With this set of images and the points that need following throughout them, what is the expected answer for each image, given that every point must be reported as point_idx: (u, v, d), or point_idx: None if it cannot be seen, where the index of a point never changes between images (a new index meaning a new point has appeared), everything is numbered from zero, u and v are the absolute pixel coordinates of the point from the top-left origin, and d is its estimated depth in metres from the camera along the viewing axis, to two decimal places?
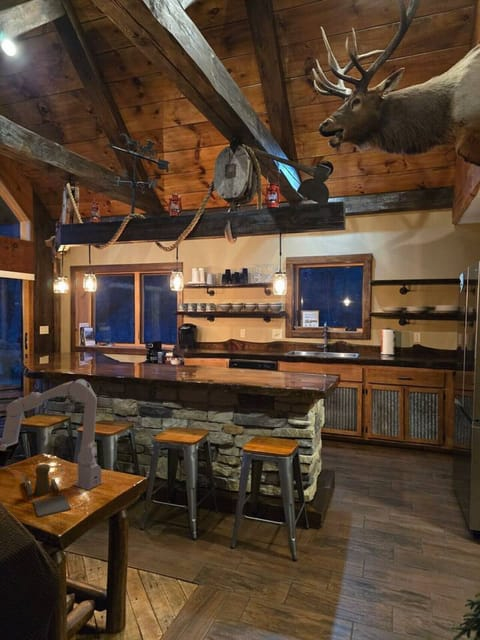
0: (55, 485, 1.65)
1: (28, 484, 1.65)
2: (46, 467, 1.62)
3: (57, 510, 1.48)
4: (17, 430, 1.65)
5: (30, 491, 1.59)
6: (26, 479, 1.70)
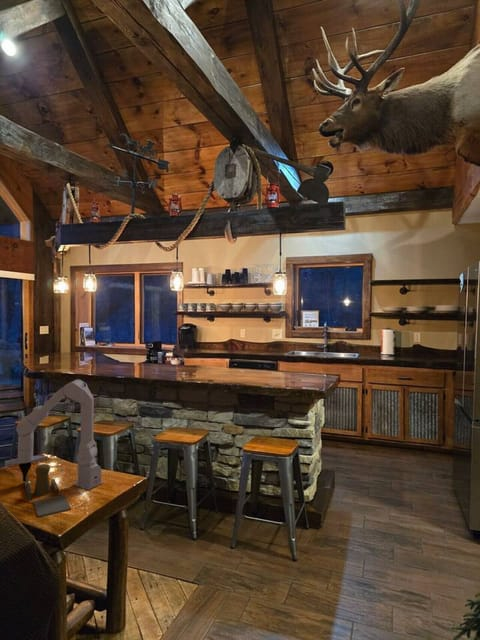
0: (55, 485, 1.65)
1: (28, 484, 1.65)
2: (46, 467, 1.62)
3: (57, 510, 1.48)
4: (30, 448, 1.69)
5: (29, 491, 1.58)
6: (26, 479, 1.70)
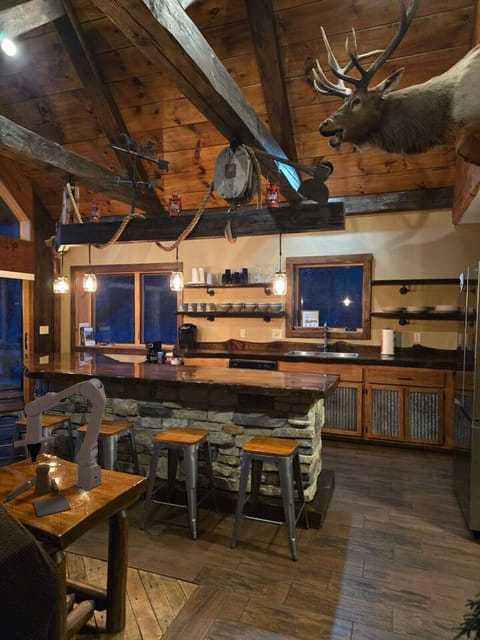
0: (55, 485, 1.65)
1: (24, 484, 1.64)
2: (46, 467, 1.62)
3: (57, 510, 1.48)
4: (38, 429, 1.70)
5: (12, 492, 1.57)
6: (33, 479, 1.70)
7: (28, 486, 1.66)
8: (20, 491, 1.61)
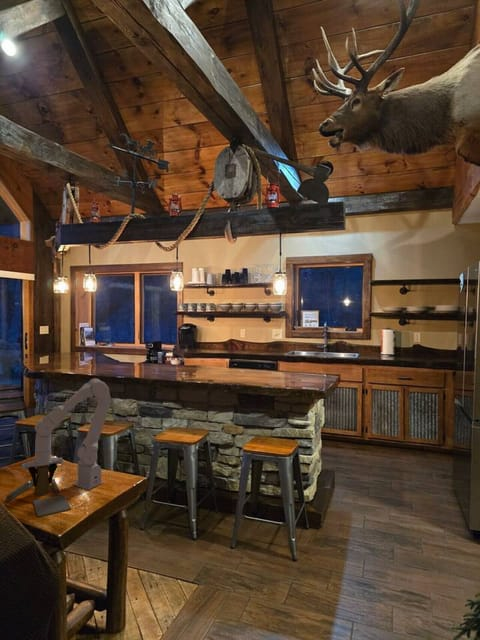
0: (55, 485, 1.65)
1: (24, 484, 1.64)
2: (46, 467, 1.62)
3: (57, 510, 1.48)
4: (50, 449, 1.63)
5: (12, 492, 1.57)
6: None
7: (28, 486, 1.66)
8: (20, 491, 1.61)
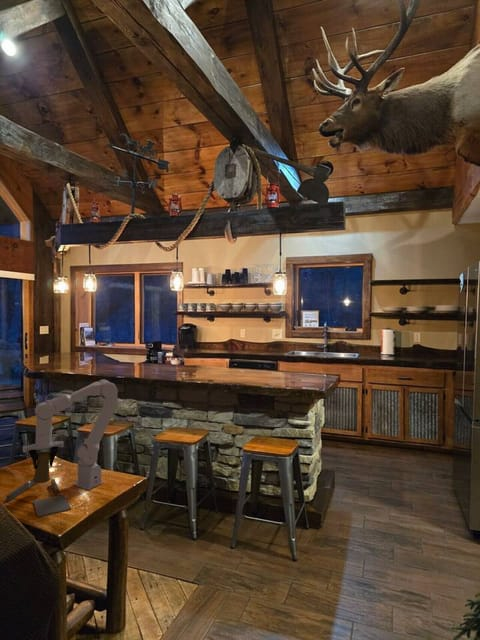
0: (55, 485, 1.65)
1: (24, 484, 1.64)
2: (47, 454, 1.62)
3: (57, 510, 1.48)
4: (51, 432, 1.63)
5: (12, 492, 1.57)
6: None
7: (28, 486, 1.66)
8: (20, 491, 1.61)
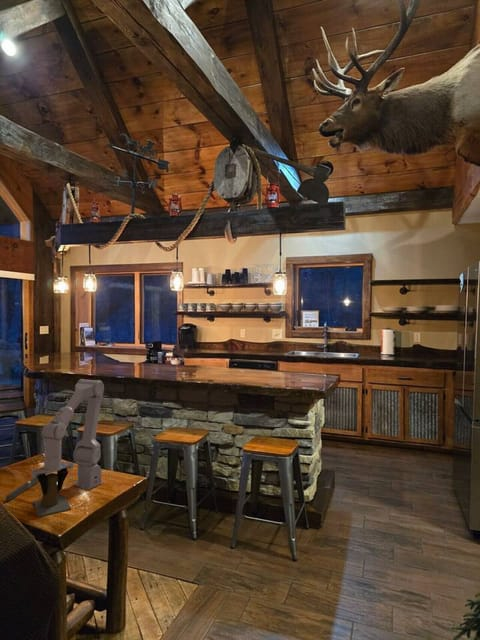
0: None
1: (24, 484, 1.64)
2: (56, 476, 1.53)
3: (57, 510, 1.48)
4: None
5: (12, 492, 1.57)
6: (33, 479, 1.70)
7: (28, 486, 1.66)
8: (20, 491, 1.61)
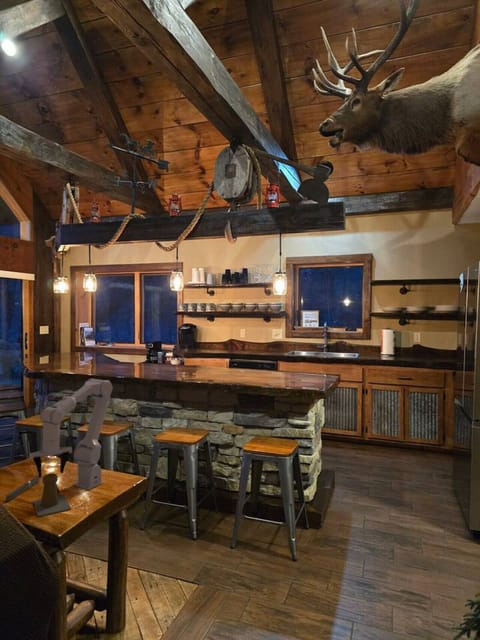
0: None
1: (24, 484, 1.64)
2: (55, 476, 1.52)
3: (57, 510, 1.48)
4: None
5: (12, 492, 1.57)
6: (33, 479, 1.70)
7: (28, 486, 1.66)
8: (20, 491, 1.61)
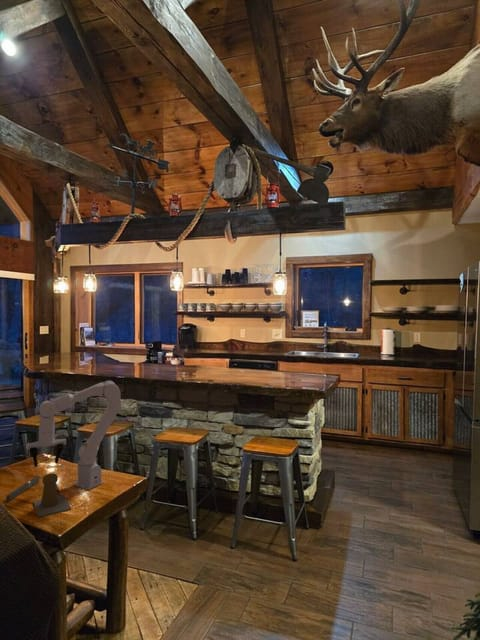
0: None
1: (24, 484, 1.64)
2: (55, 476, 1.52)
3: (57, 510, 1.48)
4: (53, 430, 1.65)
5: (12, 492, 1.57)
6: (33, 479, 1.70)
7: (28, 486, 1.66)
8: (20, 491, 1.61)
